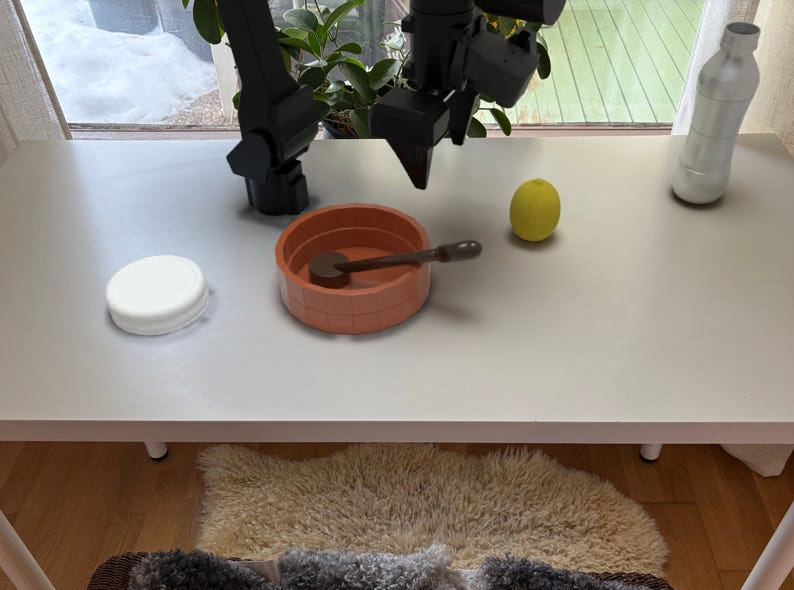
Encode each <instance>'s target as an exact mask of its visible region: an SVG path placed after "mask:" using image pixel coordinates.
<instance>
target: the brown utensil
mask: <svg viewBox="0 0 794 590" xmlns="http://www.w3.org/2000/svg"><path fill="white" fill-rule="evenodd" d="M483 250H484V248H483V244H482V243H481V242H480V241H479V240H477V239H467V240H460V241H454V242H446V243H442V244H441V243H440V244H439V245H438V246H436V248H431V249H428V250H422V251H415V252H409V253H402V254H396V255H389V256H383V257H376V258H370V259H363V260H357V261H351V262H350V261H349V259H348V257H347V256H345V255H344V254H342V253H339V252H332V251H329V252H322V253H319V254H317V255H315V256H314V257H312V258H311V260H310V261H309V264H308V268H309V277H310V281H311V283H312V284H314V285H317V286H320V287H324V288H327V289H339V288H341V287H343V286H345V285H346V284H347V283H348V282H349V281H350V279H351V273H356V272H363V271H370V270H377V269H384V268H391V267H398V266H405V265H412V264H419V263H426V262H431V263H432V262H438V263H441V264H448V263H455V262H456V263H457V262H463V261H469V260H470V261H471V260H476V259H478V258H479V257H481V255H482V254H483Z"/></svg>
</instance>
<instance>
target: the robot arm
mask: <svg viewBox="0 0 794 590" xmlns="http://www.w3.org/2000/svg"><path fill="white" fill-rule="evenodd" d="M215 3H216V5H217V8H218V12H219V15H220V19H221V22H222V24H223V28H224V31H225V34H226V38H227V40H228V43H229V47H230V50H231V53H232V57H233V60H234V63H235V66H236V70H237V72H238V75H239V76H238V77H239V79H240V84H241V87H240V93H239V100H238V106H237V113H236V116H237V120H238V126H239V132H240V136H241V140H240V141H239V142H238V143H237V144H236V145H235V146H234V147H233V148H232V149H231V150H230V151H229V152H228V154H227V155H226V156H225V159H226V161H227V164H228V165H229V168H230V170H231V173H232V174H233V175H235V176H239V177H242V178H244V183H245V189H246V194H247V201H248V205H250V206H253V207H254V209H255V211H256V212H257V213H259V214H261V215H263V216H267V217H281V216H285V215H287V216H291V217H292V216H299V215H301V213H303V212H304V211H305V210H306V208H308V206H310V199H309V189H308V181H307V175H306V174H304V172H303V165H302V164H303V163H302V160H300V159H298V158H299V157H301V156H302V155H303V154H306V153H307V152H309V150H310V146H311V144H312V143H313V142H314V140H315V139H316V137H317V135H318V134H319V130H320V129H319V121H320V120H322V116H321V114H320V112H319V110H318V108H317V106H316V101H315V94H314V89H313V87H312V86H311V84H309V83H308V84H303V85H301V84H300V83H299V82H298V80H296V78H295V77H293V75H291V74H290V73H289V72H288V69H287V67H286V62H285V59H284V56H283V55H284V54H283V52H282V48H281V45H280V41H279V37H278V33H277V30H276V25H275V22H274V19H273V16H272V12H271V8H270V4H269V1H268V0H215ZM566 3H567V0H409V12H408V14H406V15H405V16H404V17H403V18H402V19H400V30H401V31H400V32H401V33H406V34H409V50H410V51H409V60H408V61H407V62H406V63H404V65H402V67H401V78H402V79H405V80H412V81H415V85H417V86H419V88H418V90H411V89H408V88H407V89H406V88H401V87H396V86H393V87H392V88H391V89H389V90H388V91H387V92H386V93H385V94H384V95H383V96H382V97H381V98H379V100H378V101H377V102H375V103H374V104H373V105H372V107H370V108H369V109H368V110H367V111H366V112H367V128H368V129H367V130H368V131H367V132H368V133H369V134H370V136H374V137H377V138H380V139H384V140H385V141H386V143H387V144H388V145H389V147H390V148H391V150H392V151H393V152H394V155H395V156H396V157H397V159H398V161H399V162H400V165H401V166H402V167H403V170H404V172H405V173H406V175H407V176H408V178H409V180H410V181H411V183H412V185H413V187H414V188H415V189H417V190H421V191H426V190H427V188H428V184H429V178H430V174H431V167H432V161H433V154H434V148H435V147H436V146H438V144H439V143H441V141H442V140H443V139H444V138H445V137H446V135H447V134H448V133H449V137H450V140H451V143H452V144H453V145H454V146H458V147H462V146H463V145H464V143H465V141H466V138H467V134H468V131H469V129H470V126H471V122H472V119H473V117H474V113H475V110H476V107H477V103H478V100H479V97H480V95H481V94H482V95H484V96H486V97H487V98H489V99H491V100H492V101H494V102H495V105H497V106H498V107H501V108H503V109H508V110H509V109H513V108H514V107H515V106H516V104H517V103H518V101H519V100H520V99H521V97H523V96H524V94H525V93H526V91H527V88H528V86H529V85H530V83H531V81H532V79H533V77H534V74H535V73H536V71H537V69H538V68H539V67H540V57H541V54H540V53H539V52H537V51H538V47H537V46H538V45H537V37H538V36H537V32H536V31H535V30H533V29H531V28H529V27H528V26H526V25H521V26H520V27H519V28H518V29H516V30H514V32H512V33H511V34H510V35H509V36H508V37H507V38H505V37H506V33H503V32H501V33H500V34H499V33H492V32H490V31H487V15H491V16H497V17H501V18H505V19H506V18H507V19H512V20H517V21H521V22H528V23H531V24H538V25H542V26H548V27H550V26H553V25H555V24H556V23H557V21H558V20H559V18H560V17H561V15H562V13H563V11H564V8H565V6H566ZM479 8H480V9H479ZM485 14H487V15H485Z"/></svg>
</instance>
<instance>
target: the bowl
mask: <svg viewBox="0 0 794 590" xmlns="http://www.w3.org/2000/svg"><path fill="white" fill-rule="evenodd" d="M428 249H432V244H431V240H430V238H429V235H428V232H427V230H426V228H425V227H424V226H423V225H422V224H421V223H420V222H419V221H418V220H417V219H416V218H415V217H413V216H411V215H409V214H407V213H405V212H403V211H401V210H400V209H397V208H395V207H390V206H386V205H382V204H377V203H363V202H362V203H361V202H350V203H349V202H348V203H341V204H333V205H329V206H324V207H321V208H318V209H315V210H311V211H310V212H308V213H306V214H304V215H302V216H301V217H299V218H297V219H295V220H293V221H292V222H291V223H290V224H289V225H288V226H287V227H286V228H285V229H284V230H283V231H282V232H281V233H280V234H279V237H278V239H277V241H276V244H275V246H274V257H275V265H276V272H277V277H278V281H279V288H280V295H281V301H282V303H283V304H284V306H285V307H286V309H287V310H288V312H289V313H290V315H291V316H293V317H294V318H296V319H297V320H298V321H300V322H302V323H303V324H304V325H306V326H308V327H310V328H313V329H316V330H320V331H323V332H325V333H330V334H342V335H362V334H369V333H376V332H381V331H383V330H387V329H389V328H392V327H394V326H397V325H399V324H401V323H403V322H404V321H406V320H407V319H409V318H410V317H411V316H413V315H414V314H416V313H417V312H419V311H420V309H421V307H422V306H423V304H424V303H425V302H426V300H427V299H428V297H429V294H430V286H431V269H432V268H431V263H432V262H426V263H419V264H412V265H405V266H398V267H391V268H384V269H377V270H370V271H363V272H356V273H351V279H350V281H349V282H348V283H347V284H346V285H345V286H343V287H341V288H339V289H327V288H324V287H320V286H317V285H314V284H312V283H311V281H310V277H309V268H308V264H309V261H310V260H311V258H312V257H314V256H315V255H317V254H319V253H322V252H329V251H332V252H339V253H342V254H344V255H345V256H347V257H348V259H349V261H350V262H351V261H357V260H363V259H370V258H376V257H383V256H389V255H396V254H402V253H409V252H415V251H422V250H428Z"/></svg>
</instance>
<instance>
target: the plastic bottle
mask: <svg viewBox="0 0 794 590" xmlns="http://www.w3.org/2000/svg"><path fill="white" fill-rule="evenodd" d="M761 31H762V29H761V27H760V26H758V25H756V24H754V23H751V22H748V21H747V22H746V21H733V22H729V23H727V24H726V25H725V26H724V28H723V31H722V36H721V37H720V39H719V42H718V46H719V47H720V49H719V50H717V51H716V52H715V53H714V54H713V55H711V57H710V58H708V59H707V61H706V62H705V63H704V64H702V67H701V69H700V70H699V72H698V74H697V78H696V86H695V95H694V104H693V109H692V116H691V122H690V125H689V131H688V133H687V136H686V139H685V141H684V145H683V148H682V150H681V154H680V155H679V157H678V159H677V161H676V163H675V165H674V168H673V171H672V175H671V187H672V189H673V191H674V193H675V195H676V196H677V197H678V198H680V199H681V200H683V201H685V202H687V203H691V204H697V205H699V204H700V205H705V204H710V203H713V202H715V201H717V199H719V198H721V197H722V196H723V194H724V193H725V191H726V189H727V187H728V185H729V183H730V178H731V172H732V160H733V156H734V152H735V151H734V150H735V147H736V142H737V138H738V135H739V133H740V129H741V127H742V125H743V122H744V119H745V116H746V114H747V112H748V109H749V108H750V106H751V103H752V101H753V99H754V97H755V95H756V93H757V90H758V88H759V85H760V83H761V82H760V78H761V77H760V74H761V73H760V70H759V65H758V62H757V61H756V57H755V56H754V52H756V51H757V49H758V46H759V40H760V36H761V33H762V32H761Z"/></svg>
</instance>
